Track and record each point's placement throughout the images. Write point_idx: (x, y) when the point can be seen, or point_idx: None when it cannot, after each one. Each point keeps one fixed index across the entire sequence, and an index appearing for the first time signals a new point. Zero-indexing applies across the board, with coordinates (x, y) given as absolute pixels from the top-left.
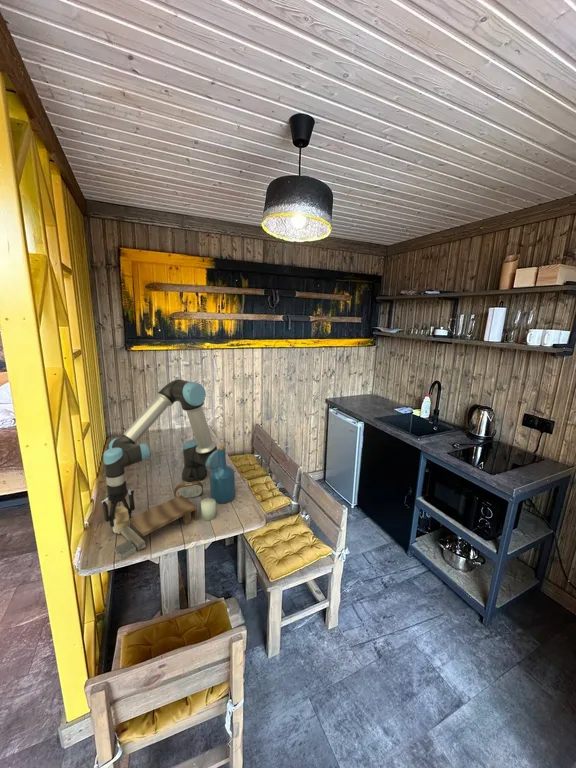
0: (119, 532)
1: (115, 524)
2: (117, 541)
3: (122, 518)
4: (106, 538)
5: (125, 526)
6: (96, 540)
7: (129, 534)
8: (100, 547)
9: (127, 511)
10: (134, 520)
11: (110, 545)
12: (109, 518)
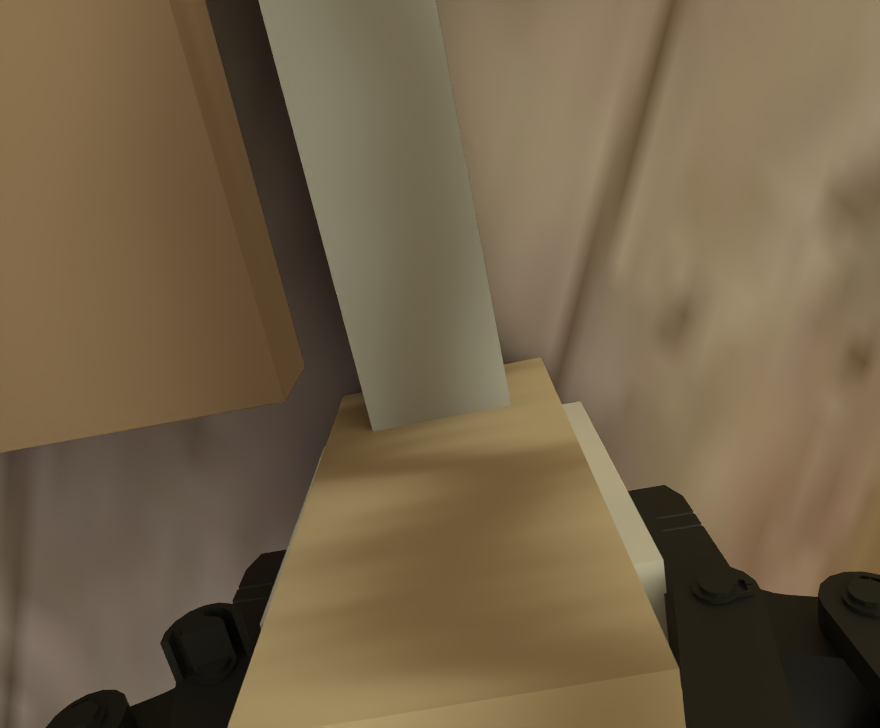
0: (523, 369)
1: (603, 493)
2: (593, 198)
3: (448, 527)
4: (710, 394)
5: (409, 400)
6: (842, 436)
7: (394, 31)
8: (862, 211)
9: (258, 668)
10: (147, 208)
11: (719, 158)
12: (811, 651)
